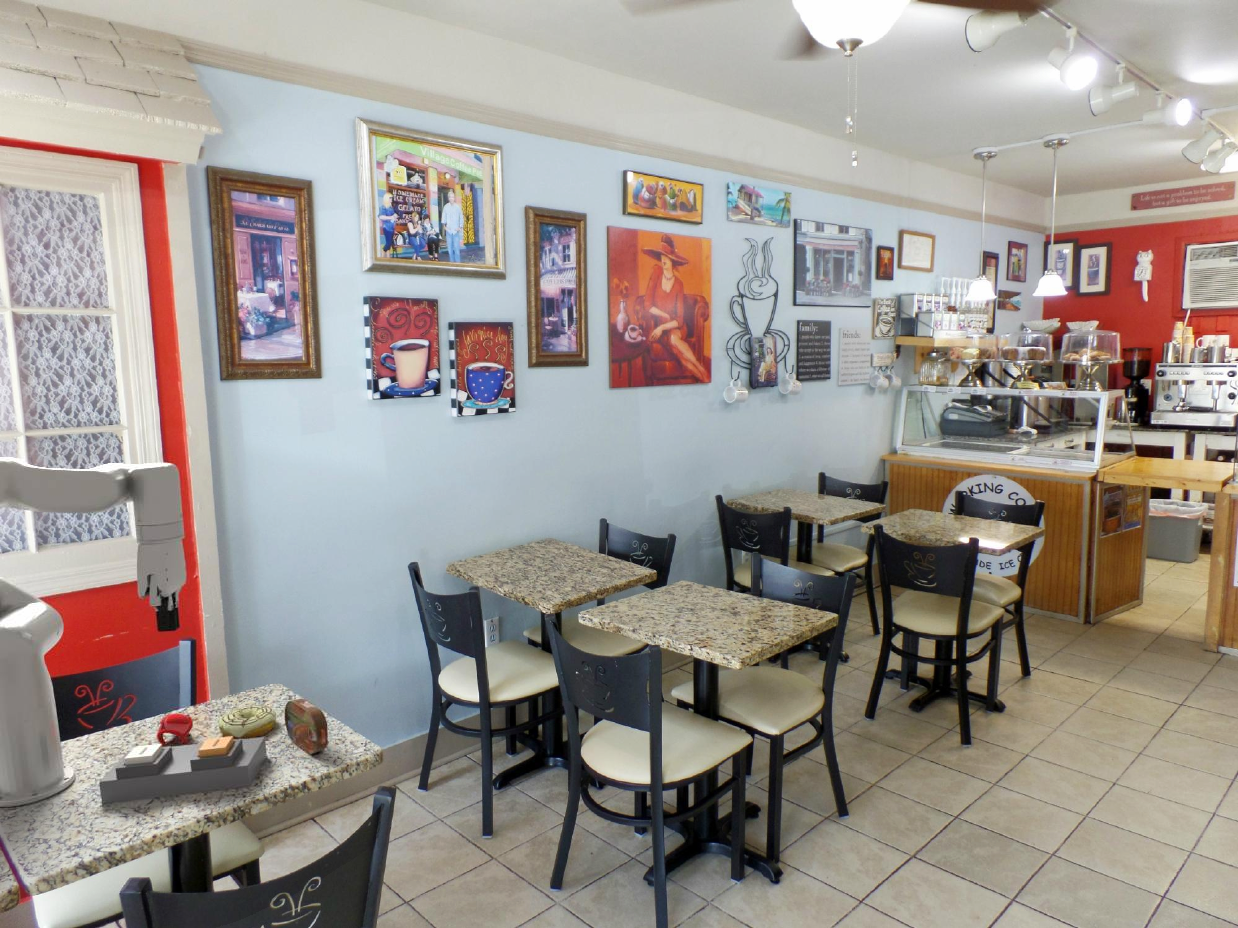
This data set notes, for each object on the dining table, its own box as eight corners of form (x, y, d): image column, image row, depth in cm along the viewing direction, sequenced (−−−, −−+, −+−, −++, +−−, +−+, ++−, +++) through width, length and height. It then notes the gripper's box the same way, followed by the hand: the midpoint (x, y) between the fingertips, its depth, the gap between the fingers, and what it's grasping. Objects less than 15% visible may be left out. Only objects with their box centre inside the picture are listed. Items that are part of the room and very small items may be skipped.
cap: (187, 733, 156) (199, 707, 161) (154, 728, 155) (167, 701, 159) (185, 755, 161) (196, 728, 165) (153, 750, 159) (165, 723, 164)
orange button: (199, 762, 141) (198, 749, 140) (208, 751, 145) (207, 738, 145) (226, 760, 141) (225, 746, 141) (234, 748, 146) (232, 735, 145)
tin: (284, 736, 161) (280, 696, 159) (300, 730, 163) (296, 691, 162) (316, 761, 150) (312, 718, 149) (333, 754, 152) (329, 712, 151)
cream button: (126, 771, 139) (124, 757, 138) (136, 759, 143) (135, 745, 143) (153, 768, 139) (151, 754, 139) (163, 756, 144) (161, 743, 143)
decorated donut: (238, 747, 157) (236, 729, 156) (209, 734, 163) (207, 716, 163) (287, 726, 165) (285, 708, 165) (258, 714, 171) (256, 697, 171)
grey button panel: (102, 803, 138) (97, 770, 137) (130, 771, 148) (126, 741, 148) (249, 786, 141) (246, 754, 140) (266, 756, 152) (263, 726, 151)
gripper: (155, 524, 152) (164, 618, 154) (118, 541, 137) (128, 645, 139) (197, 523, 153) (205, 616, 155) (165, 539, 138) (174, 642, 140)
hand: (168, 629), depth 147 cm, fingers closed
